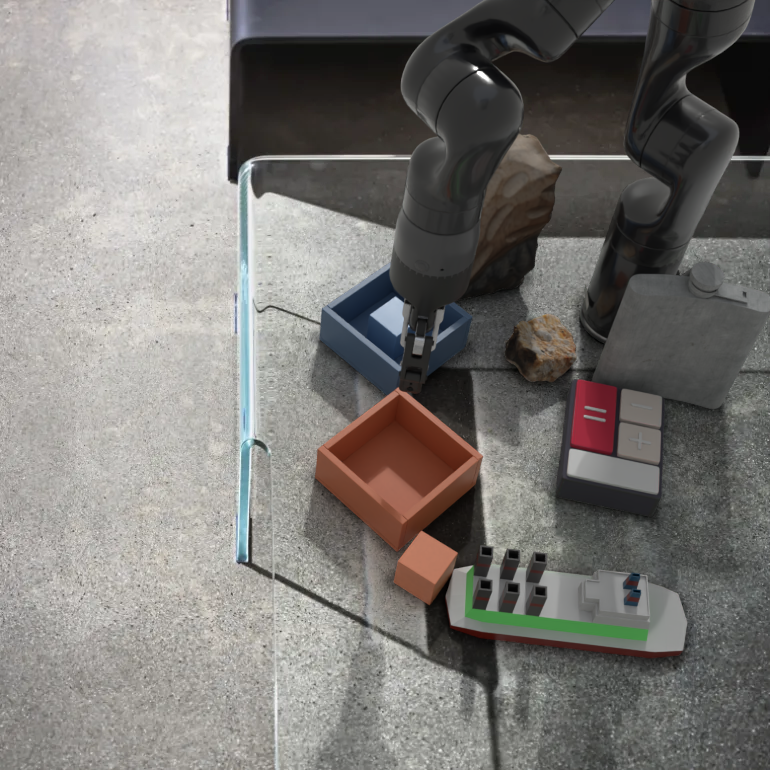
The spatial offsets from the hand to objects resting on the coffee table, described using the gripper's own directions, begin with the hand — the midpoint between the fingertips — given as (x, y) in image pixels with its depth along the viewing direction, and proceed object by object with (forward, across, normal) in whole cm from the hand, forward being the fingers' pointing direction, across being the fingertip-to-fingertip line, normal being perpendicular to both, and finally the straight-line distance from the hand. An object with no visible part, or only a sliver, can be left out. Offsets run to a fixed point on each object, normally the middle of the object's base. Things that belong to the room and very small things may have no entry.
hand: (414, 357), depth 118 cm
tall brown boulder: (+16, +29, -6) cm, 34 cm away
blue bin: (+16, +15, +2) cm, 22 cm away
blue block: (+16, +15, +2) cm, 22 cm away
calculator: (+16, +4, -24) cm, 29 cm away
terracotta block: (+16, -16, -5) cm, 23 cm away
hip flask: (+16, +15, -30) cm, 37 cm away
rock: (+16, +17, -15) cm, 28 cm away
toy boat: (+16, -17, -20) cm, 31 cm away
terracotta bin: (+16, -4, 0) cm, 17 cm away
